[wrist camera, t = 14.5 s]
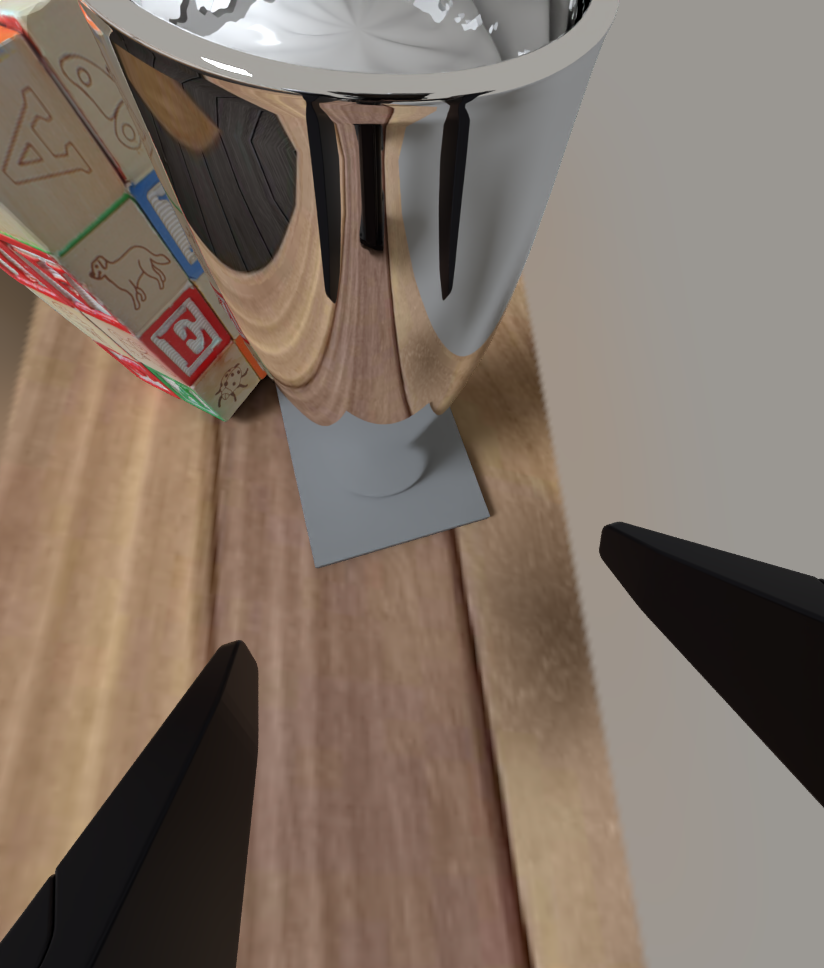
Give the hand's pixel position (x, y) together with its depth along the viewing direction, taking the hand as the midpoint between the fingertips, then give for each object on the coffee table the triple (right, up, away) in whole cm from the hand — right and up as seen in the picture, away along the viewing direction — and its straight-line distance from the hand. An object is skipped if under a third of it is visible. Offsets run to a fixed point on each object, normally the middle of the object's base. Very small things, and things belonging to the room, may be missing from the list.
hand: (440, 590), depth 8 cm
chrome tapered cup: (-3, +5, +10) cm, 12 cm away
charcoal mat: (-3, +5, +11) cm, 12 cm away
